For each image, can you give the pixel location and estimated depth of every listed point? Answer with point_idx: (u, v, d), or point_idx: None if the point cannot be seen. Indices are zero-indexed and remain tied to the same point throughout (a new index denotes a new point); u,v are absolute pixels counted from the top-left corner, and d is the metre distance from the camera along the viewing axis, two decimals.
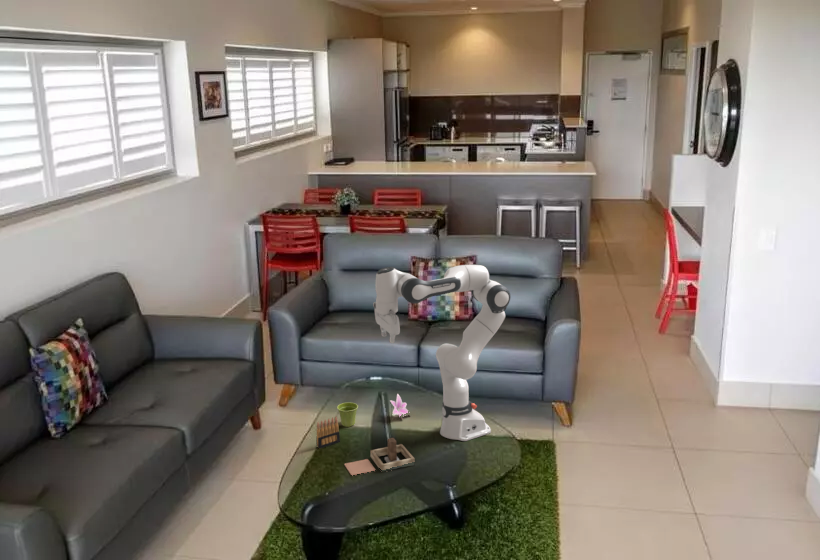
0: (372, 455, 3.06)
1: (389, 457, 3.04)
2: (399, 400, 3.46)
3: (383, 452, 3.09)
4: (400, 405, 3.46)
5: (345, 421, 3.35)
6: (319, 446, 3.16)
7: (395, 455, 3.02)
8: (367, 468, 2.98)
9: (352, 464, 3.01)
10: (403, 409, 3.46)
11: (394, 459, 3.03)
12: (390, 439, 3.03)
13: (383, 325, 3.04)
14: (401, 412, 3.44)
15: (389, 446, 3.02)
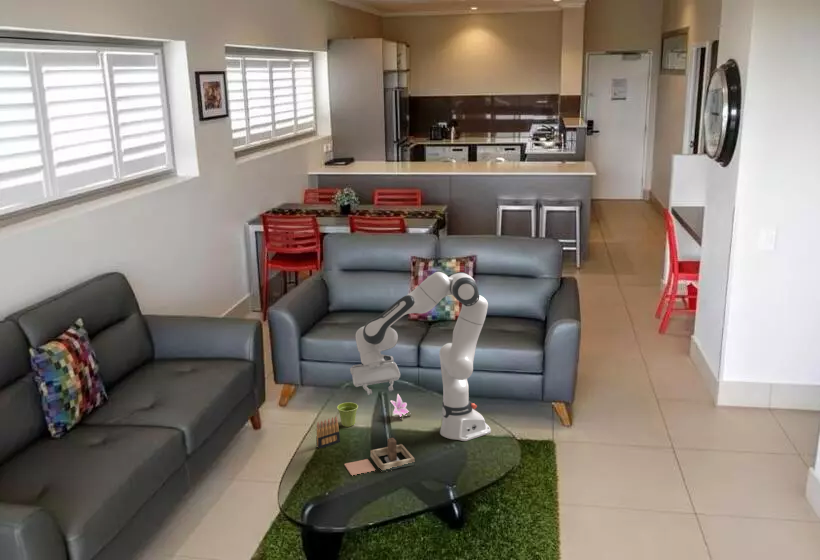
0: (372, 455, 3.06)
1: (389, 457, 3.04)
2: (399, 400, 3.46)
3: (383, 452, 3.09)
4: (400, 405, 3.46)
5: (345, 421, 3.35)
6: (319, 446, 3.16)
7: (395, 455, 3.02)
8: (367, 468, 2.98)
9: (352, 464, 3.01)
10: (403, 409, 3.46)
11: (394, 459, 3.03)
12: (390, 439, 3.03)
13: None
14: (401, 412, 3.44)
15: (389, 446, 3.02)
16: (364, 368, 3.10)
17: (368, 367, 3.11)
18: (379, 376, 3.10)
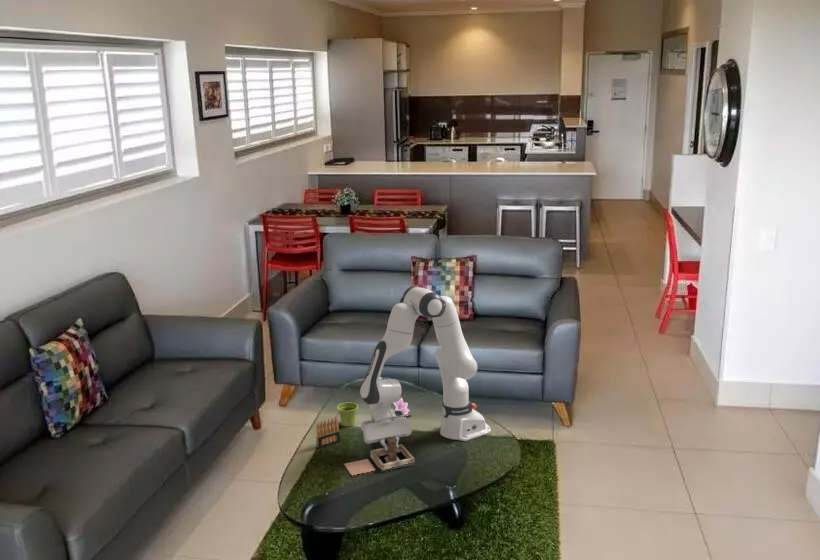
0: (372, 455, 3.06)
1: (389, 457, 3.04)
2: (400, 400, 3.46)
3: (383, 452, 3.09)
4: (401, 405, 3.46)
5: (345, 421, 3.35)
6: (319, 446, 3.16)
7: (395, 455, 3.02)
8: (367, 468, 2.98)
9: (352, 464, 3.01)
10: (404, 409, 3.46)
11: (394, 459, 3.03)
12: (390, 439, 3.03)
13: None
14: None
15: (389, 446, 3.02)
16: (375, 424, 3.05)
17: (379, 423, 3.06)
18: (390, 432, 3.05)
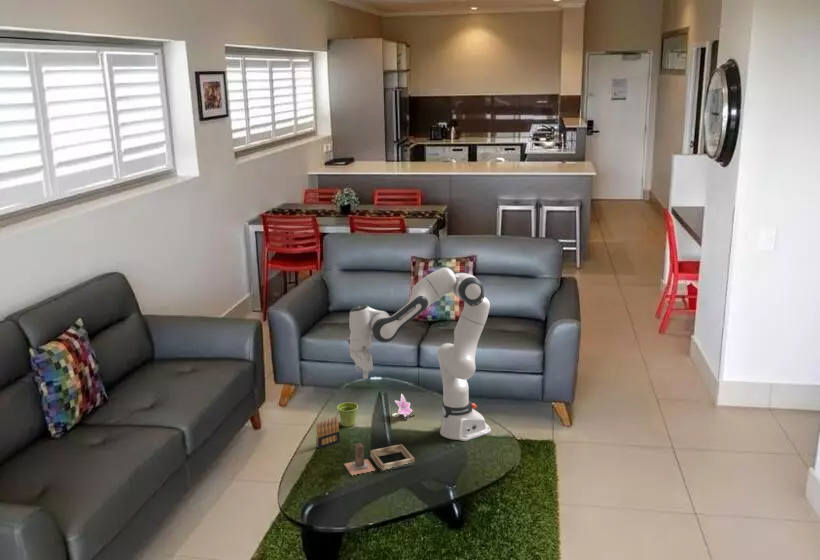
0: (372, 455, 3.06)
1: (356, 463, 2.98)
2: (403, 400, 3.46)
3: (383, 452, 3.09)
4: (404, 405, 3.46)
5: (345, 421, 3.35)
6: (319, 446, 3.16)
7: (362, 460, 2.97)
8: (367, 468, 2.98)
9: None
10: (407, 409, 3.46)
11: (361, 465, 2.97)
12: (357, 444, 2.97)
13: (357, 361, 3.12)
14: (405, 412, 3.44)
15: (356, 451, 2.97)
16: None
17: None
18: None
